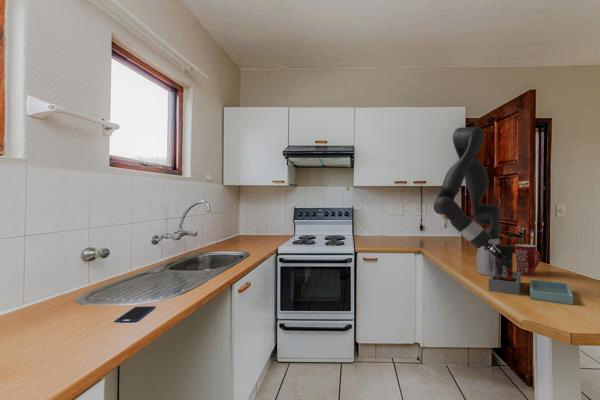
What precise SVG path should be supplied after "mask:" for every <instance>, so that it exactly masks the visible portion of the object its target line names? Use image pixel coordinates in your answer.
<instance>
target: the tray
mask: <svg viewBox="0 0 600 400" xmlns="http://www.w3.org/2000/svg"><path fill="white" fill-rule="evenodd" d="M529 300H533V301H534V300H535V301H542V302H547V303H548V302H549V303H557V304H562V305H563V304H564V305H571V306H574V295H573V292H572V290H571V287H570V285H569V283H566V282H559V281H549V280H541V279H531V278H530V279H529Z"/></svg>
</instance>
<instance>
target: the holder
mask: <svg viewBox="0 0 600 400" xmlns="http://www.w3.org/2000/svg"><path fill="white" fill-rule="evenodd" d="M521 281H522V274H521V272H517V271H513V282H510V281H502V280H495V270H493V272H492V274H491V275H489V277H488V292H494V293H495V292H496V293H502V294H509V295H516V296H519V295H520V291H521V284H522V282H521Z"/></svg>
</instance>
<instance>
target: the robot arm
mask: <svg viewBox="0 0 600 400" xmlns="http://www.w3.org/2000/svg"><path fill="white" fill-rule="evenodd" d="M484 140H485V131H484V129H483V128H482V127H478V126H467V127H466V126H464V127H463V126H462V127H457V128H456V129H455V130H454V131H453V134H452V142H453V146H454V148H455V151H456V154H457V156H458V160H457V161H456V162H454V164H453V165H452V166H451V167H450V168H449V169H448V171H447V172H446V174H445V176H444V179H443V181H442V185H441V188H440V190H439V192H438V193H437V196H436V198H435V200H434V203H433V210H434V212H435V213H436V214H438V215H440V216H441V215H442V216H445V217H446V218H447V219H448V220H449V221H450V224H451V226H452V227H454V228H455V229H456V230H457V231H458V232H459V233H460V234H461V235H462V237H463V238H464V239H466V240H467V241H468V242H469V243H470V244H471V245H472V246H473V247H474V248H475V249H477V252H476V272H477V273H478V274H481V275H485V276H491V274H492V272H493V270H495V258H497V259H498V260H499V261H500V262H502V263H503V264H504V265H505V266H506V267H507V268H511V267H512V266H514V265H513V264H514V263H513V264H512V263H511V262H510V261H508V260H507V259H506V257H505V256H504V255H502V254H501V251H500V250H499V249H498V248H496V246H495V245H496V244H500V231H501V229H500V227H501V225H500V224H501V209H500V206H498V204H481V200H482V197H483V195H484V194H485V192H486V191H487V190H488V187H489V185H490V180H489V175H488V171H487V169H486V167H485V166H484V165H483V163H481V162H480V161H479V160H478V159H477V158H476V156H477V155H478V153H479V151H480V150H481V148H482V146H483V145H484V144H483V143H484ZM464 180H465V184H466V187H467V190H468V194H469V198H470V202H471V204H470V205H471V208H472V215H473V219H474V220H473V219H472V218H471V217H470V216H469V215H468V214H466V213H465V212H464V211H463V209H462V208H461V207H460V206H459V204H458V203H457V202H456V200H455V198H456V196H457V194H458V193H459V191H460V190H461V187H462V184H463V182H464ZM480 224H483V225H484V224H485V225H488V224H489V225H490V226H489V227H488V228H486V229H484V228H483V227H482V226H481V225H480ZM499 254H500V255H501V257H500V258H498V257H497V256H498V255H499Z"/></svg>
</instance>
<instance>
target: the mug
mask: <svg viewBox="0 0 600 400" xmlns="http://www.w3.org/2000/svg"><path fill="white" fill-rule="evenodd" d="M513 247H514V251H515V263H516V264H515V265H516V272H521V275H527V276H529V275H530V276H531V275H532V276H533V275H536V268H537V267H538V265H540V262H541V253H540V252H539V251H538V250H537V245H535V244H524V243H523V244H521V243H520V244H517V243H516V244H514V246H513Z"/></svg>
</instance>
